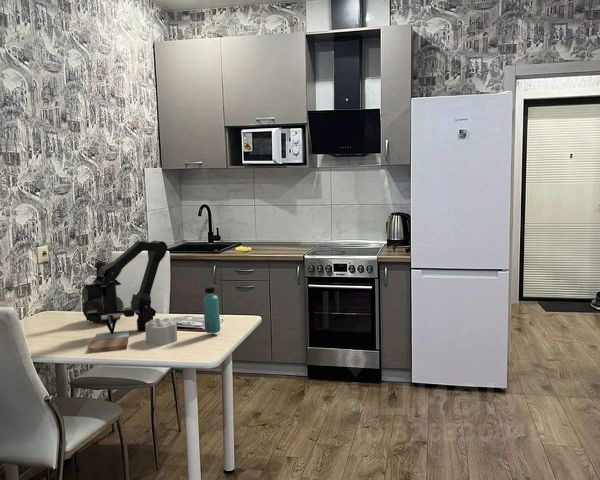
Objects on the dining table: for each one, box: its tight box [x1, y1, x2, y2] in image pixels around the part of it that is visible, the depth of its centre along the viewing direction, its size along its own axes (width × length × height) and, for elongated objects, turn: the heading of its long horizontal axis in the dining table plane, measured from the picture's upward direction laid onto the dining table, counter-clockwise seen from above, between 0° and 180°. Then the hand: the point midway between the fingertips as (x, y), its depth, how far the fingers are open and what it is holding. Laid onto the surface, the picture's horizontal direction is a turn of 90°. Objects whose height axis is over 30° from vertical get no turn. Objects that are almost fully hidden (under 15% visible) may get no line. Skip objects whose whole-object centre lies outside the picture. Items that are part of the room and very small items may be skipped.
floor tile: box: [93, 330, 130, 340], centre depth 239 cm, size 13×10×2 cm
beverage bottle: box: [202, 286, 221, 334], centre depth 238 cm, size 6×7×20 cm
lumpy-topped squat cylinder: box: [145, 317, 178, 347], centre depth 233 cm, size 10×13×9 cm
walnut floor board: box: [88, 337, 129, 354], centre depth 228 cm, size 14×12×2 cm
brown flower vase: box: [82, 261, 125, 325], centre depth 267 cm, size 18×18×28 cm
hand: (112, 333), depth 241 cm, fingers closed, pressing on floor tile
